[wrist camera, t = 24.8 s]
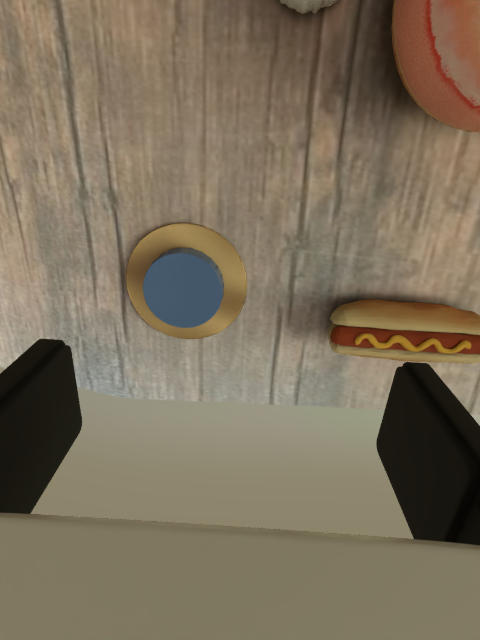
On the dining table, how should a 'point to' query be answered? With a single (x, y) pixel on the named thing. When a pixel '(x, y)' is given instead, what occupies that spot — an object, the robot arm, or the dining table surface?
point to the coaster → (201, 241)
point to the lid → (183, 287)
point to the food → (406, 331)
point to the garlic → (307, 5)
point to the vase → (440, 58)
